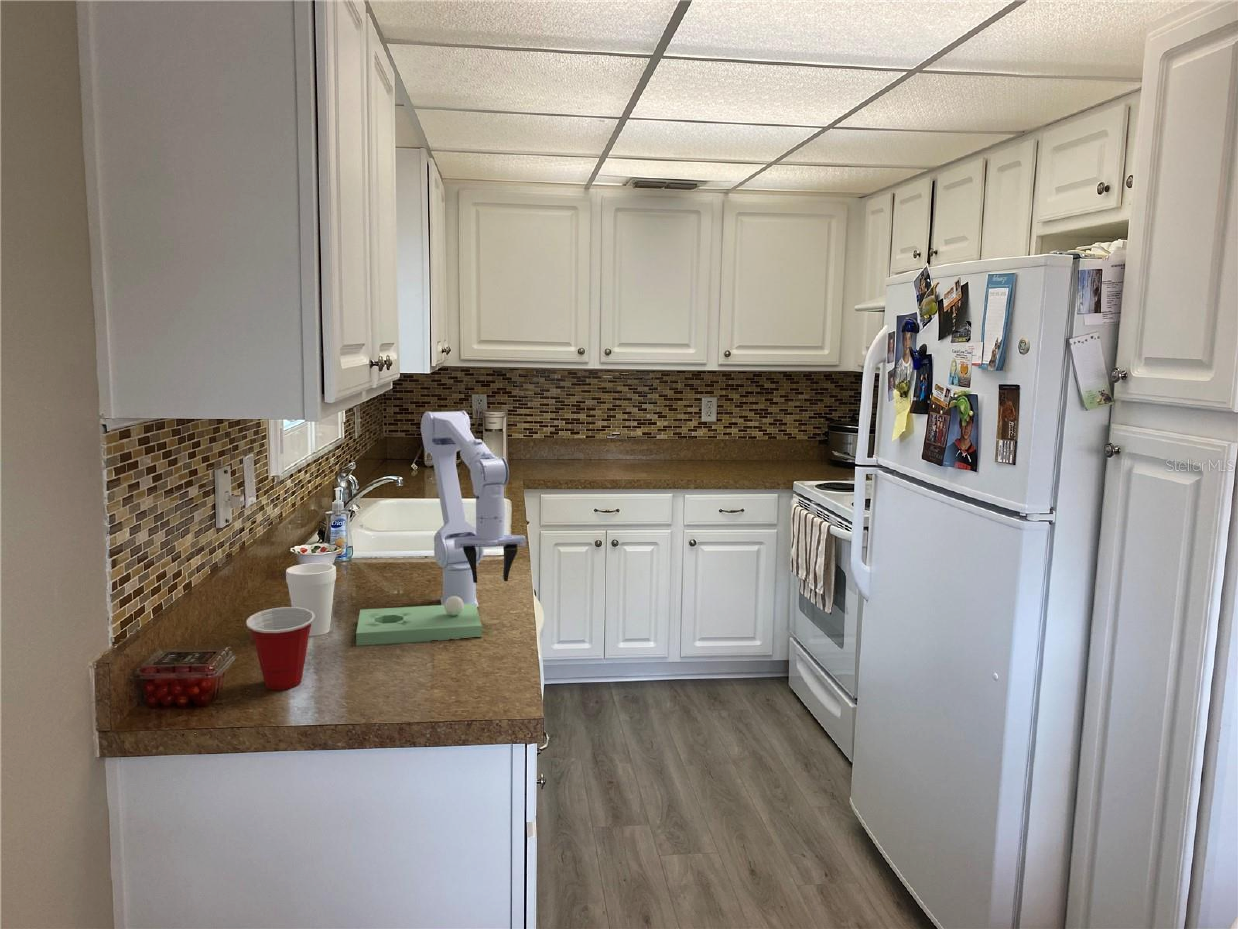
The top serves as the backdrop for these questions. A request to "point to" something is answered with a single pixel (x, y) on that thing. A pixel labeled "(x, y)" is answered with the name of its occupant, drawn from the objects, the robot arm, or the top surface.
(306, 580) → the foam cup
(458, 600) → the ball
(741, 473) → the top surface
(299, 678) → the plastic cup
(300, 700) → the top surface
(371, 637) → the putting mat
